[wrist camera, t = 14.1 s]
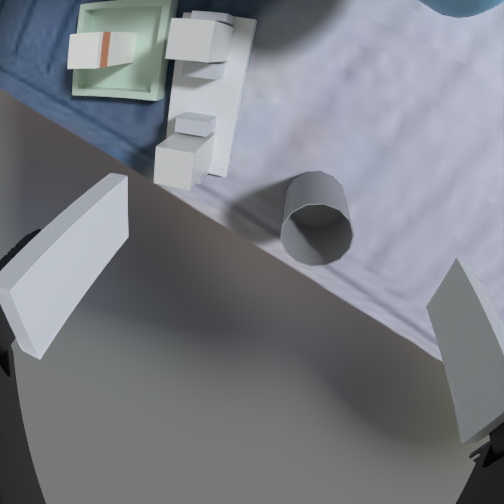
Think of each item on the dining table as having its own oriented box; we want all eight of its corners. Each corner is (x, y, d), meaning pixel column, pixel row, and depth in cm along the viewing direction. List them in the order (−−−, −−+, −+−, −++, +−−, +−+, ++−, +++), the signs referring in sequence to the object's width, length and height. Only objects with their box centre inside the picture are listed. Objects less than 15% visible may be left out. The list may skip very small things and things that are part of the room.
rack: (187, 13, 32) (171, 8, 27) (257, 20, 32) (250, 15, 27) (167, 161, 44) (152, 175, 40) (228, 173, 44) (219, 188, 40)
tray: (90, 5, 31) (80, 4, 29) (178, 0, 31) (171, -2, 29) (81, 92, 39) (72, 95, 37) (164, 98, 39) (156, 101, 37)
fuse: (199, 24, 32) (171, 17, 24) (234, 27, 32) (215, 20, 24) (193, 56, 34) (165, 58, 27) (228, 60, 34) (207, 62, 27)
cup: (308, 159, 41) (308, 189, 33) (356, 192, 43) (368, 229, 35) (274, 206, 46) (266, 244, 38) (321, 234, 48) (323, 277, 39)
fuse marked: (109, 32, 33) (70, 34, 26) (137, 32, 33) (100, 31, 26) (106, 62, 36) (67, 69, 29) (133, 62, 36) (96, 68, 28)
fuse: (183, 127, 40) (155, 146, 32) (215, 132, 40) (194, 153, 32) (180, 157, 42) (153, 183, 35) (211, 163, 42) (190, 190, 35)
